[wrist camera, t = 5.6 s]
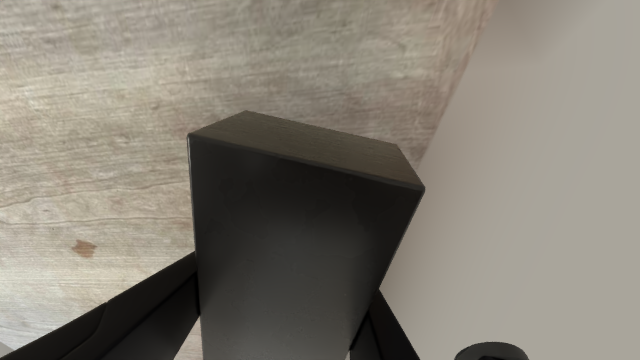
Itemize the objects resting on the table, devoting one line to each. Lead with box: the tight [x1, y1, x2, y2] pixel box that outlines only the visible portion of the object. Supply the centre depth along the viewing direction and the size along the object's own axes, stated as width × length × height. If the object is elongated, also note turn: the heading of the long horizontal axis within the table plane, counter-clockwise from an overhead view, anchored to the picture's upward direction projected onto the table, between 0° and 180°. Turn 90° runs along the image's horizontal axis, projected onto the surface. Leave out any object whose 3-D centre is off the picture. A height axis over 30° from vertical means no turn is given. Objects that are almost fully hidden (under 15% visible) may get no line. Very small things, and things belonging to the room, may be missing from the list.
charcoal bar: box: [187, 111, 425, 360], centre depth 8 cm, size 10×5×3 cm, turn 169°
